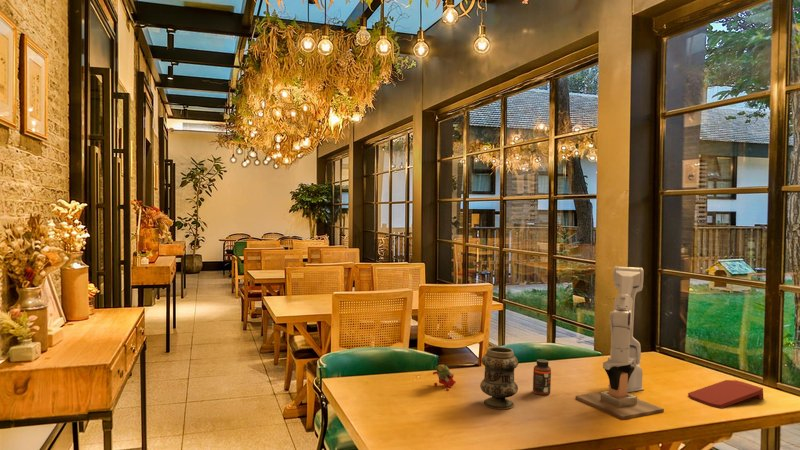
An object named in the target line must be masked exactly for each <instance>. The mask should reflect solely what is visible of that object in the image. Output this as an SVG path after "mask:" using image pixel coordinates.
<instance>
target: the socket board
mask: <svg viewBox="0 0 800 450" xmlns="http://www.w3.org/2000/svg"><path fill="white" fill-rule="evenodd" d="M575 399H576V400H578V401H580V402H582V403H584V404H587V405H588V406H591V407H593V408H595V409H598V410H599V411H603V412H604V413H607V414H609V415H611V416H614V417H615V418H618V419H620V420H623V421H624V420H627V419H629V420H630V419H635V418H639V417H645V416H650V415H656V414H661V413H664V412H665V408H662V407H660V406H657V405H656V404H654V403H653V404H652V403H650V402H647V401H645V400H643V399H640V398H638V396H636V395H633V394H630V393H629V392H627V397H625V398H617V397H614V396H612V395H610V394H609V390H604V391H598V392H597V391H596V392H591V393H585V394H584V393H583V394H579V395H578V394H577V395H575Z"/></svg>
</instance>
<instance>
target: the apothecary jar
mask: <svg viewBox="0 0 800 450" xmlns="http://www.w3.org/2000/svg"><path fill="white" fill-rule="evenodd" d="M480 362H481V363H482V365H483V366H484V378H483V379H482V380H481V381H480V384H479V386H480V390H481V391H482V392H483V393H484V394H486V395H487V396H489V397H488V398H486V399H484V400H483V405H484V406H486V407H488V408H491V409H495V410H509V409H512V408H514V407H515V403H514V402H513V401H512V400H511V399H508V398H510V397H513V396H515V395H516V394H517V392H518V390H519V387H518V384H517V382H515V369H516V368H517V367H518V366H519V360H518V358H517V357H516V356H515V354H514V349H512V348H509V347H505V346H489V347H487V349H486V353H484V355H483V356H482V357H481V361H480Z"/></svg>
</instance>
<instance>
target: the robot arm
mask: <svg viewBox="0 0 800 450" xmlns="http://www.w3.org/2000/svg"><path fill="white" fill-rule="evenodd" d="M644 273H645V272H644V269H643V267H633V266H632V267H631V266H629V267H628V266H618V265H615V266H614V267H613V283H614V286H615V289H616V290H618V292H619V293H618V295H616V296H615V298H614V303H613V307H612V311H610V313H609V325H610V326H609V327H610V333H611V334H610V354H609V355H610V356H609V357H607V360H606V361H603V362H602V369H604V371H605V372H606V374H607V378H608V381H610V385H611V389H614V390H618V387H619V380H620V376H621V373H622V372H625V373H628V386H627V393H631V392H638V391H642V390H643V391H644V390H645V388H644V387H643V368H642V367H641V365H640V364H641V357H642V349H641V343H640V342H639V340H637V339H636V338H635V337H634V324H635V323H634V321H635V320H634V318H635V303H636V301H635V300H636V295H637V293H639V292H642V291H643V288H644V276H645V275H644ZM608 387H609V384H608Z"/></svg>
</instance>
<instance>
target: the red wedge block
mask: <svg viewBox="0 0 800 450" xmlns="http://www.w3.org/2000/svg"><path fill="white" fill-rule="evenodd" d="M687 395H688V398H690V399H692V400H693V401H697V402H699V403H702V404H704V405H708V406H710V407H713V408H714V407H715V408H718V409H723V408H726V407H729V406H732V405H734V404H737V403H740V402H743V401H745V400H748V399H751V398H756V399H758V400H763V398H764V388H763V387H761V386H757V385H755V384H751V383H747V382H745V381H739V380H737V379H734V380H733V379H725V380H722V381H719V382H715V383H714V384H711V385H710V384H709V385H708V386H704V387H702V388H701V387H700V388H699V389H695V390H694V391H693V390H692V391H690V392H688V393H687Z"/></svg>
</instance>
